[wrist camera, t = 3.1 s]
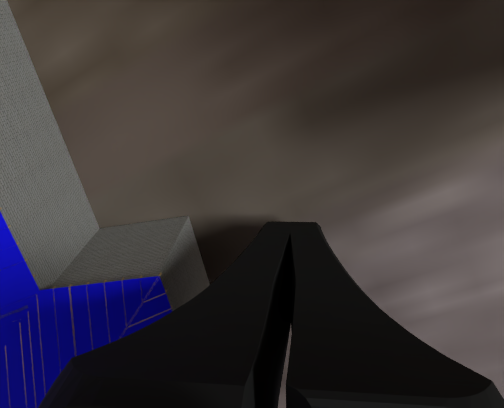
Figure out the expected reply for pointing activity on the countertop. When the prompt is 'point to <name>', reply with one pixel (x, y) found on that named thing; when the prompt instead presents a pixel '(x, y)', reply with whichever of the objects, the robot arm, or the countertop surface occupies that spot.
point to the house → (68, 247)
